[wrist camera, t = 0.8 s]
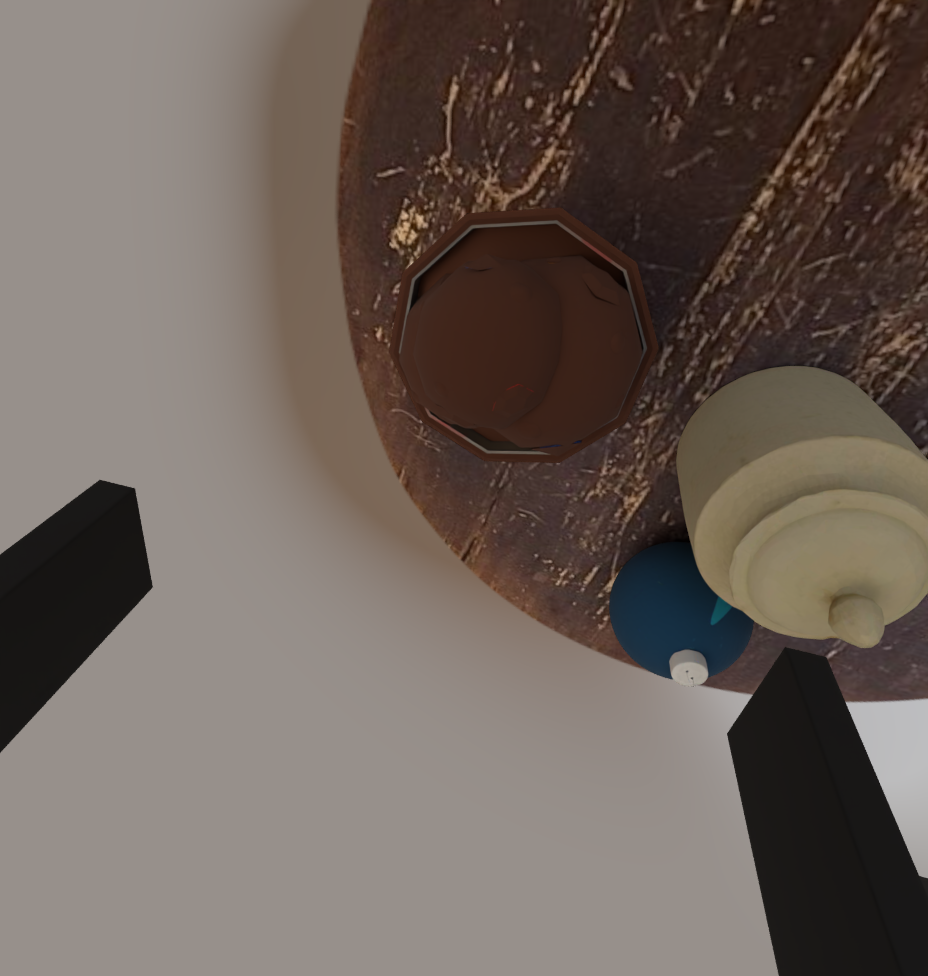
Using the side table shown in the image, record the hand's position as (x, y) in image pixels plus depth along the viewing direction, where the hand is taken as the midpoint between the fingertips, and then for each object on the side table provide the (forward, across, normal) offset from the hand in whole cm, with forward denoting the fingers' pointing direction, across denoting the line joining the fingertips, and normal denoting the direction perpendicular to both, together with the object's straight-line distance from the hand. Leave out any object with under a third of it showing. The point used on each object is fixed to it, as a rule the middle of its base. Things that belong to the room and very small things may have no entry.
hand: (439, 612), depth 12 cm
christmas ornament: (+25, +13, -16) cm, 32 cm away
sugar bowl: (+25, +17, -5) cm, 30 cm away
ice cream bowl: (+25, 0, 0) cm, 25 cm away
